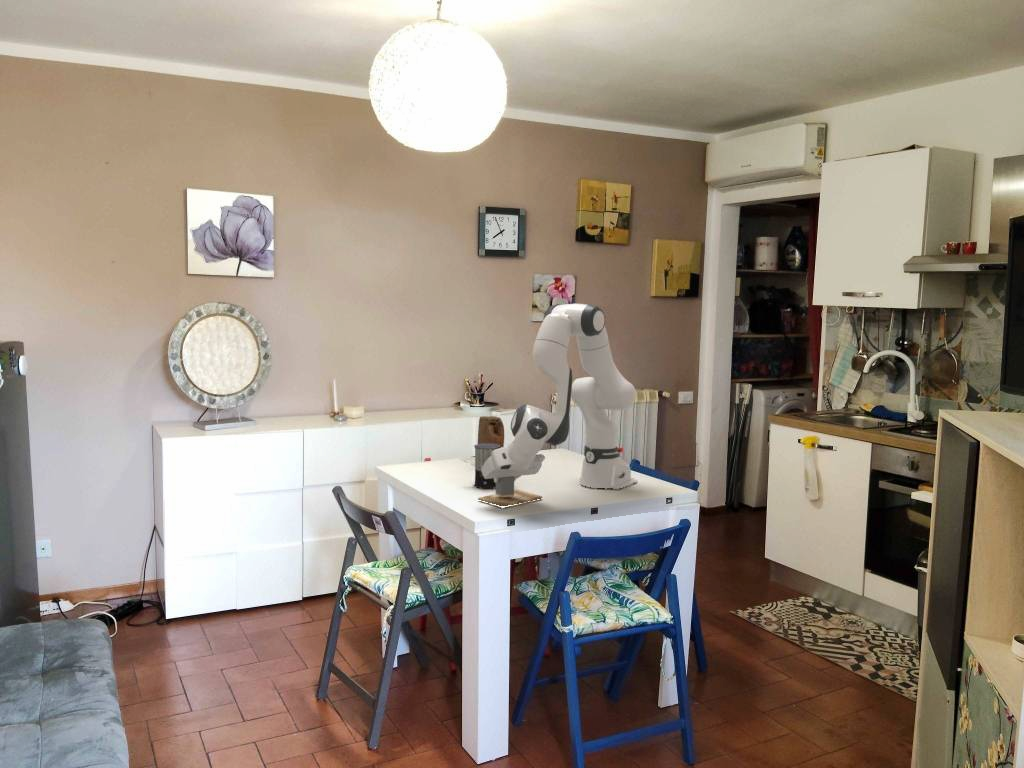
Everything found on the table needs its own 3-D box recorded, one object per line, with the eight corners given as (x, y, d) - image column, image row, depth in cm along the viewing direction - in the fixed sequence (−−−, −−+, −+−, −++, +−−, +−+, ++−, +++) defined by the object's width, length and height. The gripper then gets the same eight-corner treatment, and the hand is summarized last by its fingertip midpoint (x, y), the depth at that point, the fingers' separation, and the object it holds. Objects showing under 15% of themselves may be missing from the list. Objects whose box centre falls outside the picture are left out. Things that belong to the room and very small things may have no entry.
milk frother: (475, 489, 288) (475, 448, 286) (469, 479, 303) (470, 439, 302) (515, 488, 290) (516, 447, 289) (507, 478, 306) (508, 439, 304)
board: (517, 493, 284) (517, 489, 284) (542, 499, 275) (542, 496, 275) (478, 501, 272) (478, 497, 271) (502, 508, 263) (502, 505, 263)
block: (475, 465, 329) (476, 415, 326) (491, 463, 333) (492, 414, 331) (490, 470, 320) (491, 419, 318) (506, 468, 324) (507, 418, 322)
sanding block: (507, 493, 275) (508, 466, 274) (513, 496, 271) (514, 469, 270) (495, 494, 273) (496, 467, 272) (501, 497, 269) (502, 470, 268)
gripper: (543, 446, 270) (528, 469, 279) (488, 450, 260) (473, 474, 269) (550, 462, 266) (534, 485, 276) (494, 467, 256) (479, 491, 266)
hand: (504, 480), depth 272 cm, fingers closed on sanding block, 4 cm apart
